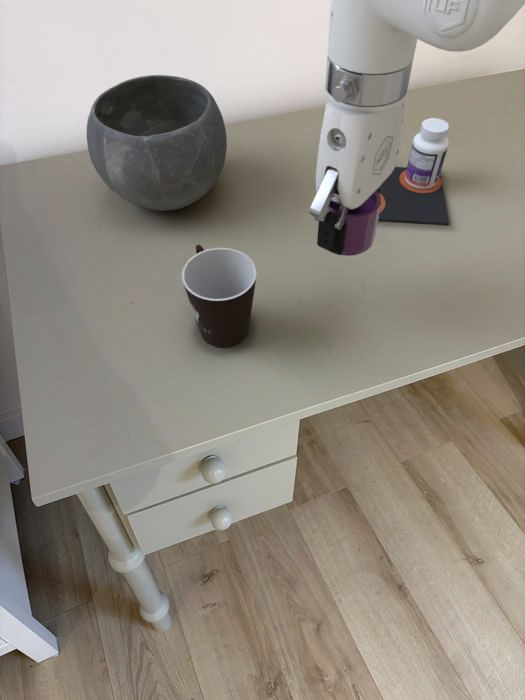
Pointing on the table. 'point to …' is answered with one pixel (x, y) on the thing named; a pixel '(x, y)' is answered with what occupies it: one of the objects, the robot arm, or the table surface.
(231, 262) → the coffee mug
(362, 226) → the cup
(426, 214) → the placemat
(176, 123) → the bowl
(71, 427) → the table surface
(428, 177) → the pill bottle
